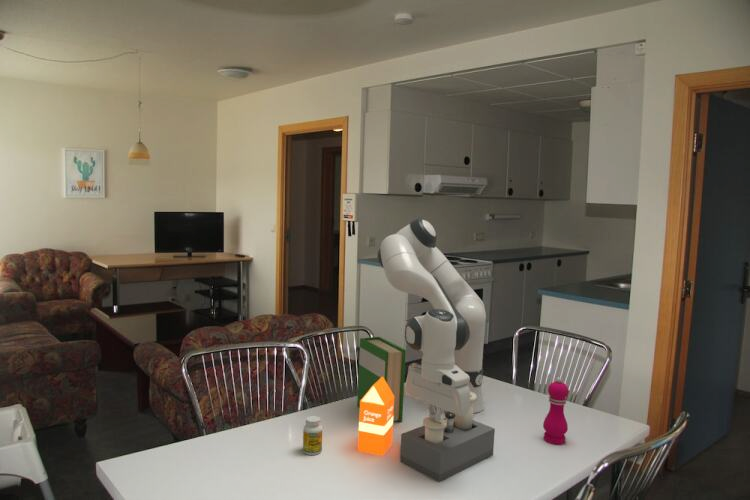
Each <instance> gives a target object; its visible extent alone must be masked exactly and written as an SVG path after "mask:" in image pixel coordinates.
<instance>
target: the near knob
mask: <svg viewBox="0 0 750 500" xmlns="http://www.w3.org/2000/svg"><path fill="white" fill-rule="evenodd" d="M422 426H424V427H425V440H427V441H429V442H431V443H434V444H437V443H439V442H442V441H443V433H444V429H445V428H446V426H447V422H446V420H444V419H443V418H442V417H441V421H440V422H435V421H433V420H430V419H429V416H427V417H424V418H423V420H422Z"/></svg>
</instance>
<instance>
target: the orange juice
mask: <svg viewBox="0 0 750 500" xmlns="http://www.w3.org/2000/svg"><path fill="white" fill-rule="evenodd" d="M393 412H394V395H393V393H392V392H391V390H390V388H389V386H388V385H387V383H386V381H385V379H384V378H383V376H382V377H381V378H380V379H379V380H378V381H377V382H376V383H375V384H374V385H373V386H372V387H371V388H370V390H369V391H368V392H367V393H366V395H365V396H364V397H363V398H362V400H361V401H360V408H359V414H358V415H359V416H358V417H359V418H358V437H357V438H358V441H357V442H358V443H357V451H358V452H362V453H367V454H372V455H378V456H384V455H385V453H386V452H387V450H388V449H389V448H390V447H391V445H392V444H393V429H394V428H393V427H394V421H393Z"/></svg>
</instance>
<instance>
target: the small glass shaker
mask: <svg viewBox="0 0 750 500" xmlns="http://www.w3.org/2000/svg"><path fill="white" fill-rule="evenodd" d="M455 415H456V414H454V413H452V412H449V411H447V412H446V411H444V418H445V417H446V418H445V420H446V422H447V426H446V428H445V432H447V433H453V430H454V418H455Z"/></svg>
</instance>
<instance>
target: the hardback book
mask: <svg viewBox="0 0 750 500" xmlns="http://www.w3.org/2000/svg"><path fill="white" fill-rule="evenodd" d="M406 354H407V350H406V349H405V348H403V347H401V346H399V345H397V344H394V343H392V342H390V341H388V340H387V339H385V338H383V337H381V336H374V337H373V336H372V337H371V336H370V337H362V338H361V337H360V339H359V353H358V355H359V357H358V358H359V359H358V378H357V379H358V381H357V382H358V383H357V399H356V400H357V401H356V402H357V403H356V407H358V409H360V401H361V400H362V398H363V397H364V396H365V395H366V393H367V392H368V391H369V390H370V388H371V387H372V386H373V385H374V384H375V383H376V382H377V381H378V380H379V379H380V378H381V377H382V376H383V378H384V379H385V381H386V383H387V385H388V386H389V388H390V390H391V392H392V393H393V395H394V412H393V422H395V421H397V422H398V424H400V423H403V413H404V409H403V408H404V393H405V374H406V372H405V371H406Z"/></svg>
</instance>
